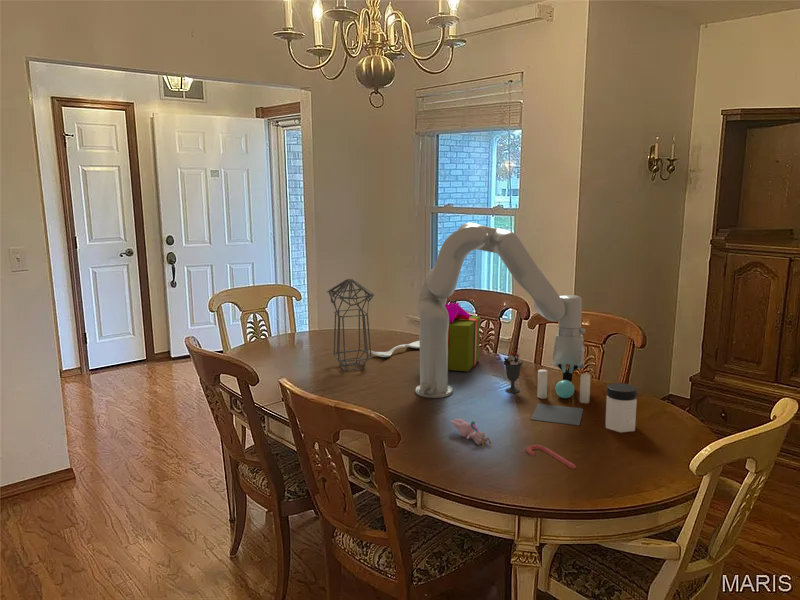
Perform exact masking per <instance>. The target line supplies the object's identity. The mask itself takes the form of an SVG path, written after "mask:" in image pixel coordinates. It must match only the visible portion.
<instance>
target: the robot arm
mask: <svg viewBox="0 0 800 600" xmlns="http://www.w3.org/2000/svg"><path fill="white" fill-rule="evenodd" d="M476 250H479V251H484V252H489V253H495V254H498V257H500V259H501V261H502V262H503V264H504V265H505V267H506V268H507V270H508V271H509V272H510V274H511V276H512V277H513V279H514V280H515V281H516V283H517V284H518V286H520V287H521V288H523V289H524V290H525V291H526V292H527V293H528V294H529V296H530V297H531V298H532V300H533V301H534V303H533V307H534V310H535V312H536V313H537V314H538V315H540V316H541V317H543V318H544V319H545V320H547V321H550V322H558V323H557V324H558V325H557V333H556V334H555V337H554V342H553V350H552V352H553V353H552V363H551V365H552V366H553V367H558V369H560V371H561V372H562V380H568V381H570V382H571V383H572V381H573V373H574V372H575V371H576V370H579V369H584V368H585V362H584V361H585V340H584V335H583V334H586V329H585V328H582V316H583V315H582V313H583V309H582V308H583V299H582V297H581V296H579V295H576V294H575V295H574V294H565V295H564V294H563V295H559V294H558V293H557V290H556V289H555V288H554V286H553V285H552V283H550V281H549V280H548V278H547V277H546V276H545V275H544V273H543V272H542V270H541V269H540V268H539V266H538V265H537V263H536V262H535V261H534V259H533V258H532V256H531V254H530V253H529V252H528V250H527V248H526V247H525V245H524V244H523V242H522V241H521V239H520V237H519V236H518V235H517V234H516V233H515V232H513V231H511V230H507V229H502V228H497V227H491V226H488V225H482V224H479V223H474V222H466V223H463V224H461V226H459V227H458V229H457V230H455V231H453V232H452V233H451V234H450V235H449V236H448V237H446V238H445V240H444V241H443V243H442V244H441V247H440V250H439V252H438V255H437V258H436V261H435V264H434V267H433V268H431V269H429V271H428V272H427V274H426V275H425V278H424V281H423V283H422V287H421V290H420V294H419V298H418V301H417V305H416V314H417V316H418V319H419V340H418V341H419V345H420V349H419V385H417V386H416V387H415V390H414V391H415V394H417V395H418V396H420V397H422V398H427V399H429V398H430V399H441V398H446V397H448V396H451V394H453V387H452V386H450V385H449V373H448V372H449V370H448V328H449V314H448V311H447V309H446V307H445V304H446V303H447V299H448V298H450V297H451V296H452V295H453V294H454V293H455V292H456V291H455V290H456V288H457V284H458V280H459V277H460V273H461V271H462V267H463V264H464V262H465V259H466V258H467V256H468V254H470V253H472V251H476ZM567 365H569V369H567Z"/></svg>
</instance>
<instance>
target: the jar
mask: <svg viewBox="0 0 800 600" xmlns="http://www.w3.org/2000/svg"><path fill="white" fill-rule="evenodd" d="M637 398H638V388H637V387H636V386H635V385H632V384H629V383H626V382H625V383H624V382H623V383H622V382H611V383H609V384H607V387H606V401H605V405H606V406H605V423H604V424H605V428H606V429H607V430H610V431H613V432H617V433H621V434H622V433H629V432H636V421H637V420H636V416H637V404H638V403H637V402H638V400H637Z"/></svg>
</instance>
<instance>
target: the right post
mask: <svg viewBox="0 0 800 600" xmlns="http://www.w3.org/2000/svg"><path fill="white" fill-rule="evenodd" d="M579 380H580V381H579V382H580V383H579V385H580V386H579V403H581V404H589V403H590V397H591V395H590V393H591V392H590V391H591V374H589V373H580V379H579Z"/></svg>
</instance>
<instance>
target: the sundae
mask: <svg viewBox="0 0 800 600" xmlns="http://www.w3.org/2000/svg"><path fill="white" fill-rule="evenodd" d="M518 351H519V347H516V350H515V351H514V352H512V353H511V354H509V355H507V357H504V358H503V361H502V362H503V363H502V364H503V365H504V366H505V371H506V373H505V375H506V378H507V379H508V380H509V381H510V387H507V388H506V389H505V390H504V391H505V392H506V393H509V394H518V392H519V393H520V392H521V390H520V389H518V388H516V386H515V385H516V384H515V382H516V381H517V380H519V378H520V374H521V367H522V365H523V364H524V362H522V359H521V358H520V355H519V354H518Z"/></svg>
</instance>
